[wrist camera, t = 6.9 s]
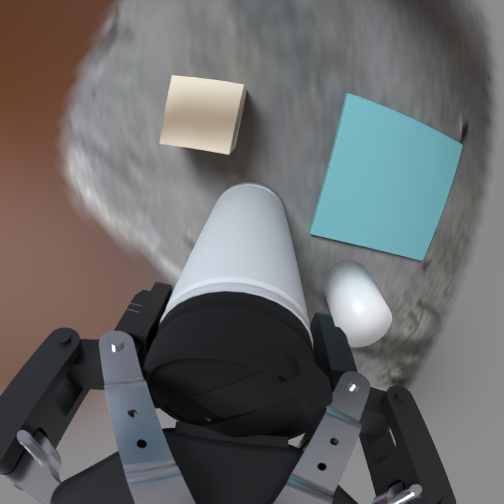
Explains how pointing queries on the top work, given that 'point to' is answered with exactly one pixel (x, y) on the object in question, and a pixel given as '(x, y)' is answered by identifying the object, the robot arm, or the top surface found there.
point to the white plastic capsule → (356, 304)
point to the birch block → (203, 114)
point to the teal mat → (385, 180)
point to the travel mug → (239, 328)
